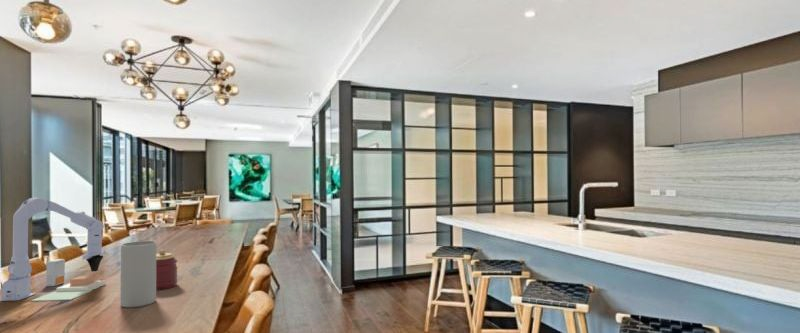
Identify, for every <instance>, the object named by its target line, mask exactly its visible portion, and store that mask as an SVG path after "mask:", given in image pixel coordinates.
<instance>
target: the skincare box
mask: <svg viewBox="0 0 800 333" xmlns="http://www.w3.org/2000/svg"><path fill="white" fill-rule="evenodd" d="M65 259H66V258H56V259H52V260H49V261H46V275H45V279H46V280H45V281H46V282H45V283H46V285H45V286H46V287H55V286H58V285H62V284H65V273H66V272H65V268H66V264H65V263H66V260H65Z"/></svg>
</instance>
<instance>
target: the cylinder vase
mask: <svg viewBox="0 0 800 333" xmlns="http://www.w3.org/2000/svg"><path fill="white" fill-rule="evenodd" d="M156 254H157V241H155V240H141V241H140V240H138V241H131V242H125V243H121V244H120V302H119V303H120V306H121V308H127V309H128V308H130V309H131V308H140V307H141V308H142V307H146V306H149V305H151V304H153V303H155V302H156V300H157V290H156Z"/></svg>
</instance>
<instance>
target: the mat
mask: <svg viewBox="0 0 800 333" xmlns="http://www.w3.org/2000/svg"><path fill="white" fill-rule="evenodd" d="M91 292H92V290H91V291H62V292H56V291H53V292H52V291H51V292H49V293H47V294H44V295H42V296H41V295H40V297H37V298H34V299H31V300H30V302H48V301H49V302H53V301H56V302H57V301H72V300H74V299H77V298H79V297H81V296H84V295H87V294H88V293H91Z"/></svg>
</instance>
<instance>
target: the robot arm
mask: <svg viewBox="0 0 800 333" xmlns="http://www.w3.org/2000/svg"><path fill="white" fill-rule="evenodd" d="M44 211H47V212H51V211H52V212H54V213H56V214H59V215H62V216H64V217H66V218H69V219H70V222H71V223H73V224H75V225H76V226H79V227H82V228H85V229H86V230H87V235H86V236H87V244H86V245H87V253H85V254H83V255H82V260H86V261H87V263H88V265H89V267H90V271H91V272H97V271H99V267H100V264H101V262H102V260H103V258H104V254H107V249H102V248H103V247H102V245H103V242H102V240H103V239H102V236H103V233H102V231H103V229H104V227H105V225H104V223H103V221H102V220H99V219H96V217H95V216H90V215H88V214H86V212H85V211H75V212H74V211H73V210H71V209H69V208H66V207H65V206H63V205H61V204H59V203H56V202H54V201H51V200H48V199H45V198H42V197H30V198H28V199H26V200H25V201H23V202H22V203H21V204H20V206H19V208H18V209H17V210H16V211H15V213H14V214H13V216H12V255H11V257H10V258H11V259H10V263H9V265H8V266H7V272H8V273H9V274H10V275H8V277H7V278H8V279H7V280H6V281H4V282H3V283H2V284H1V287H0V288H1V291H0V292H1V298H0V302H3V301H4V302H5V301H6V302H7V301H8V302H9V301H21V300H24V299H26V298H30V297H31V296H35V295H36V293H37V292H31V291H32V290H31V285H32V279H31V278H32V275H31V272H32V270H33V267H32V265H31V264H30V258H29V220H30V219H31V218H32V217H34V216H36V215H37V214H39V213H43V212H44Z"/></svg>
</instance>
